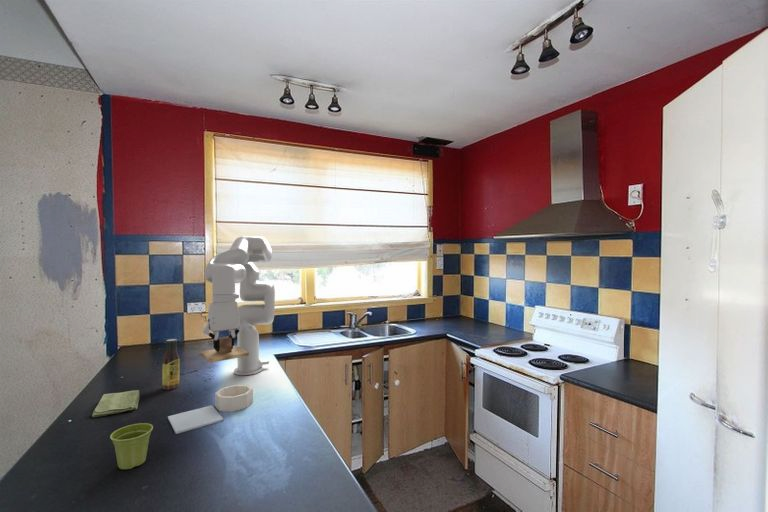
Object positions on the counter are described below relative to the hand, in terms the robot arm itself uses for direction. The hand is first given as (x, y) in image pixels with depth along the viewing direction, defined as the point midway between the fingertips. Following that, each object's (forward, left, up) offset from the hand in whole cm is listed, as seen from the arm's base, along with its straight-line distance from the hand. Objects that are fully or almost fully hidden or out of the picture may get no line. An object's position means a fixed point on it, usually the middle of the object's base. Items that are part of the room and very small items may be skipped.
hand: (223, 348), depth 130 cm
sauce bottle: (+11, -35, -22) cm, 43 cm away
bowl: (-4, -1, -22) cm, 22 cm away
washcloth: (+29, -27, -22) cm, 46 cm away
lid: (0, 0, -2) cm, 2 cm away
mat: (+10, +3, -22) cm, 24 cm away
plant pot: (+29, +20, -22) cm, 41 cm away
